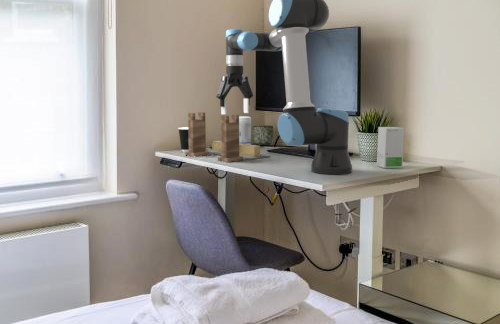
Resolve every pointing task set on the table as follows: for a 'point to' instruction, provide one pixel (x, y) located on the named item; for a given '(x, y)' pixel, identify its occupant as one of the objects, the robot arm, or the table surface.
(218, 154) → the charcoal rubber mat
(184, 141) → the dixie cup
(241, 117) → the supplement tub
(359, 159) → the table surface
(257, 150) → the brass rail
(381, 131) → the skincare box
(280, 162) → the table surface
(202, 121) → the walnut rail stand
